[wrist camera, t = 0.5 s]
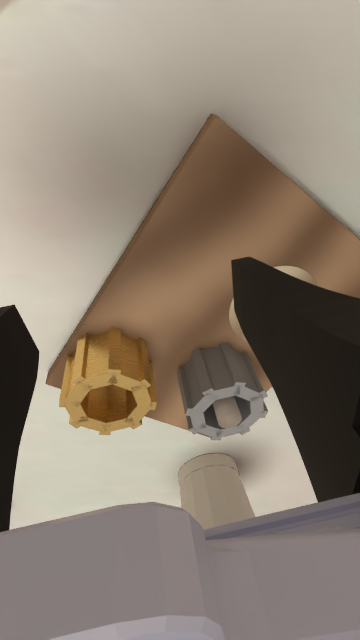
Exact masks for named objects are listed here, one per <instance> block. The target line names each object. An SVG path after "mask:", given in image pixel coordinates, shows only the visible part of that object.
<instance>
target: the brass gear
mask: <svg viewBox="0 0 360 640" xmlns="http://www.w3.org/2000/svg"><path fill="white" fill-rule="evenodd" d="M156 404H157V399H156V391H155V383H154V375H153V367H152V360H149V359H148V351H147V343H146V342H145V341H144V340H143V339H142V338H139V339H137V340H136V339H134V338H131V337H129V336H127V335H124V334H122V333H120V328H110V329H109V332H105V333H101V334H97V335H92V336H89V335H88V334H87V333H85V334H84V335H82V336H81V337H79V338H78V342H77V348H76V351H75V352H74V354H73V355H70V354H68V355H67V361H66V366H65V372H64V377H63V383H62V388H61V394H60V402H59V407H65V408H66V409H67V411H68V413H69V415H70V419H69V424H71V425H72V426H74V427H75V428H78V427H80V426H82V427H86V428H90V429H93V430H97V431H99V435H110V432H111V431H115V430H119V429H124V428H128V427H131V428H132V429H135V428H137V427H138V426H140V425H142V418H143V417H144V416H145V415H146V413H147V412H148V411H149V410H155V408H156Z"/></svg>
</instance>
